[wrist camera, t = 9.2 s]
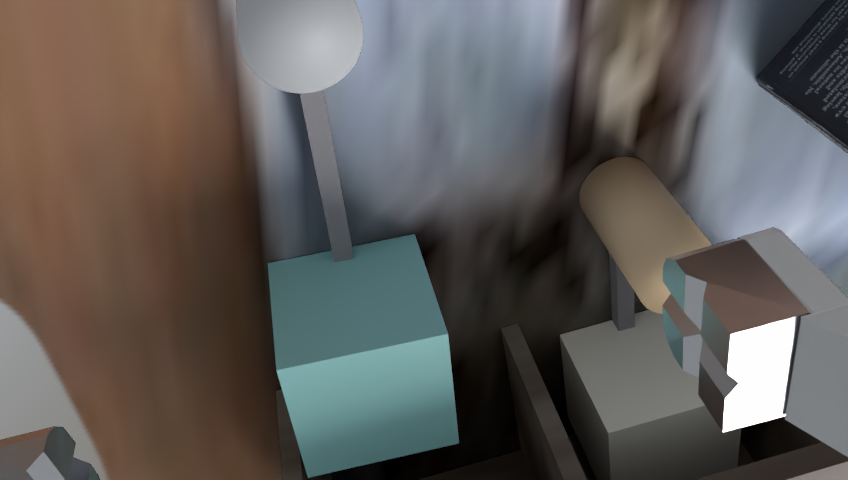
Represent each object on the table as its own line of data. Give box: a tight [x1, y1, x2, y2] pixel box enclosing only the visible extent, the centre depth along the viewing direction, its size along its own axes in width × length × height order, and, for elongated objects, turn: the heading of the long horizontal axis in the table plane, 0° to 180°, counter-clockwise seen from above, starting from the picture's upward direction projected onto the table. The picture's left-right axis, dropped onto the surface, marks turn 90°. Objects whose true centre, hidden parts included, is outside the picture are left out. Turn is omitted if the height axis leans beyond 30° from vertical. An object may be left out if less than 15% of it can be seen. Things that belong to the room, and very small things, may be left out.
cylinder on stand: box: [560, 157, 742, 480], centre depth 35 cm, size 15×6×6 cm, turn 10°
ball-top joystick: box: [236, 0, 459, 478], centre depth 28 cm, size 19×6×6 cm, turn 5°
